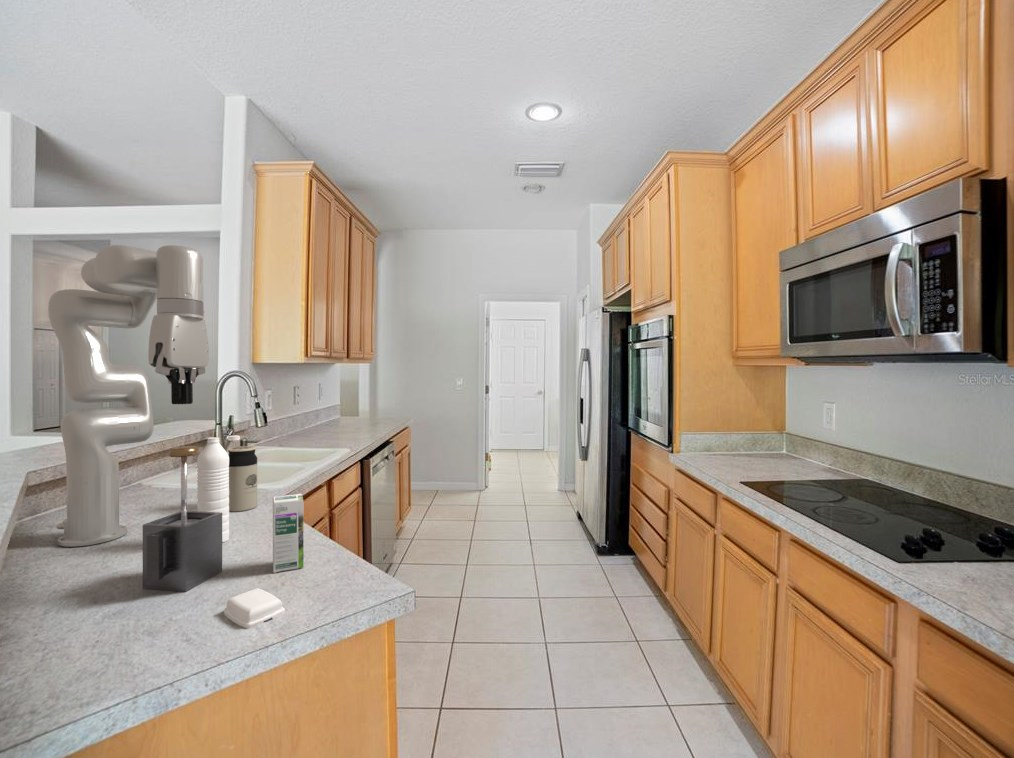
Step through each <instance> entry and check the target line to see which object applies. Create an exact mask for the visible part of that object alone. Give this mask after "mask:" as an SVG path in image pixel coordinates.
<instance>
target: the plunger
mask: <svg viewBox="0 0 1014 758" xmlns="http://www.w3.org/2000/svg"><path fill="white" fill-rule="evenodd" d="M168 452H169V458H170V457H171V458H180V511H181V520H178V521H175V522H173V523H170V524H167V525H185V526H186V525H188V524H191V523H193V522H196V521H198V520H199V519H187V511H188V457H193V456H197V455H198V456H199V446H198V445H186V446H185V445H183V446H175V447H170V448H169V451H168Z"/></svg>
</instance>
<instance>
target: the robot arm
mask: <svg viewBox="0 0 1014 758" xmlns="http://www.w3.org/2000/svg"><path fill="white" fill-rule="evenodd" d="M203 259H204V258H203V256H202V254H201V252H200V251H198V250H196V249H194V248H191V247H187V246H182V245H172V244H171V245H163V246H159V248H158V249H157V251H155V250H151V249H145V248H141V247H135V246H129V245H123V244H122V245H121V244H120V245H119V244H117V245H116V244H114V245H113V244H112V245H106V246H105V245H104V246H103V247H101V248H100V249H99V250H98V252H97V254H96V256H95V257H93V258H91V259H88V260H87V261H86V262H85V263H84V264H83V265H82V267H81V270H80V271H81V272H80V275H81V278H82V280H83V282H84V283H85V284H86V286H88V287H90V289H92V290H88V289H73V288H72V289H71V288H69V289H62V290H61V289H60V290H57V291H55V292H54V293H52V295H51V296H50V297H49V300H48V304H47V305H48V311H47V312H48V313H47V314H48V319H49V323H50V325H51V328H52V330H53V332H54V334H55V336H56V338H57V340H58V343H59V345H60V348H61V351H62V362H63V363H62V364H63V374H64V383H65V390H66V394H67V396H68V398H69V399H70V400H71V401H73V402H76V403H81V404H83V403H84V404H87V403H88V404H90V403H91V404H94V403H95V404H99V403H101V404H102V403H123V405H124V406H105V407H85V408H80V409H76V410H72V411H70V412H68V413H66V414H65V415H64V416H63V418H61V422H60V432H61V437H62V441H63V445H64V452H65V468H66V476H65V477H66V518H65V519H64V520H63V521H62V522H60V523H58V524H57V525H56V529H57V530H63V534H62V535H61V536H58V538H57V545H58V546H60V547H66V548H67V547H69V548H72V547H74V548H75V547H84V546H85V547H86V546H92V545H98V544H102V543H105V542H111V541H114V540H116V539H118V538H121V537H123V536H125V535H126V534H127V533H128V526H126V525H123V524H120V464H119V461H118V459H117V458H116V457H115V456H114V455H113V454H112V453H111V452H110V451H109V450H108V449H107V447H111V446H118V445H119V446H120V445H126V444H127V445H129V444H137V443H142V442H145V441H147V440H149V439H150V438H151V436H152V435H153V432H154V426H155V425H154V422H155V421H154V412H153V406H152V405H153V404H152V398H151V397H152V395H151V387H150V380H149V377H148V375H147V373H146V372H145V370H144V369H143V368H142V367H140V366H138V365H132V364H113V363H112V362H111V359H110V351H109V346H108V344H107V343H106V341H105V340H104V339H103V338H102V337H101V336H100V335H99V334H98V333H97V332H96V331H94V330H93V329H91V328H90V326H91V327H101V328H102V327H105V328H118V329H128V330H129V329H136V328H138V327H141V326H142V325H143V324H144V322H145V321H146V319H147V318H148V315H149V313H150V312H151V310H152V308H153V306H154V304H155V303H156V314H155V315H153V317H152V321H151V325H150V330H149V336H148V352H147V353H148V354H147V355H148V358H147V359H148V365H150V366H151V367H153V368H155V369H154V371H155V374H159V375H162V376H165V378H166V379H167V382H168V384H170V386H171V387H170V389H171V397H170V398H171V399H170V400H171V404H172V405H192V404H193V403H194V402H193V398H194V397H193V396H194V395H193V394H194V393H193V386H194V385H193V384H195V383H196V378H197V377H198V376H200V375H203V374H206V367H207V366H208V365H209V359H210V352H209V350H210V349H209V338H208V330H207V327H206V326H207V325H206V321H205V318H204V316H205V310H204V308H205V307H204V262H203V261H204V260H203Z"/></svg>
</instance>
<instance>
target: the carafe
mask: <svg viewBox="0 0 1014 758" xmlns="http://www.w3.org/2000/svg"><path fill="white" fill-rule="evenodd" d="M187 519H199V520H198V521H196V522H193V523H191V524H188V525H186V526H185V525H167V524H170V523H173V522H175V521H178V520H181V510H180V511H178V512H175V513H172V514H168V515H167V516H163V517H161V518H158V519H154V520H151V521H149V522H146V523H144V524H142V589H143V590H156V591H158V590H159V591H170V592H181V593H182V592H183V593H187V592H189V591H191V590H192V589H194V588H196V587H197V586H199V585H201V584H203V583H204V582H206V581H209V580H210V579H211V578H213V577H215V576H217V575H218V574H220V573H222V572H223V542H222V513H220V512H201V511H197V510H187Z"/></svg>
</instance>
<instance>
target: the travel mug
mask: <svg viewBox="0 0 1014 758" xmlns="http://www.w3.org/2000/svg"><path fill="white" fill-rule="evenodd" d="M256 450H257V447H256V446H253V445H242V446H233V447H229V448H227V451H228V455H229V512H234V513H235V512H236V513H238V512H247V511H250V510H253V509H255V508H256V507H257V506H258V457H257V454H256Z"/></svg>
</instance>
